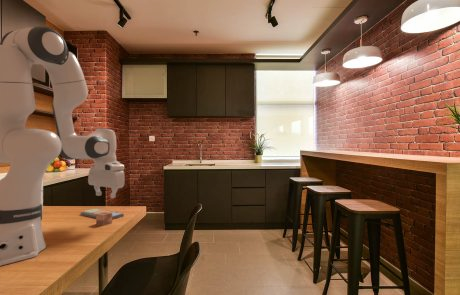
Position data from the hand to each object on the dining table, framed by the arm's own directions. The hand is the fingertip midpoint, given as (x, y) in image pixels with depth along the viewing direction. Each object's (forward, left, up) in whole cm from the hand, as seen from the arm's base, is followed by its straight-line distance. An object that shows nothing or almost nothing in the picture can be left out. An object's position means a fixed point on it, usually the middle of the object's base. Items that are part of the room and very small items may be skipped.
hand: (105, 196), depth 113 cm
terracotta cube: (-1, 0, -12) cm, 12 cm away
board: (+7, +13, -12) cm, 19 cm away
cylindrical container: (-12, +36, -12) cm, 40 cm away
